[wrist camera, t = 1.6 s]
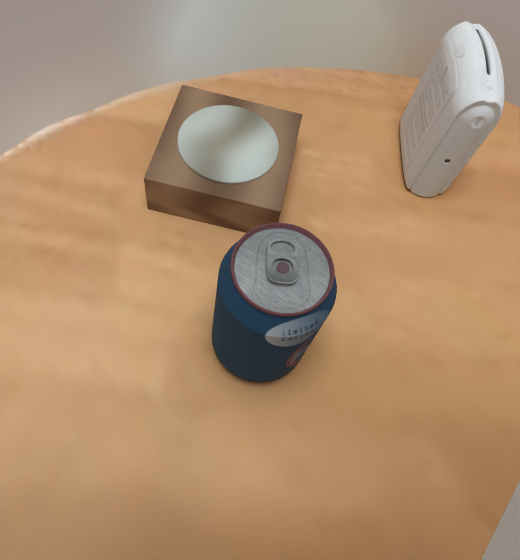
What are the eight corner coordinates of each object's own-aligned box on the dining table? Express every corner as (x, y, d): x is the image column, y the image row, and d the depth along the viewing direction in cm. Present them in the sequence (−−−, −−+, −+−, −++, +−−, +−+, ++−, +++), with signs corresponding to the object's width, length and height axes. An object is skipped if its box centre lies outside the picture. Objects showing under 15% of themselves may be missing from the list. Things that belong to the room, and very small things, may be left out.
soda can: (302, 389, 35) (349, 329, 25) (208, 384, 34) (215, 320, 24) (300, 304, 38) (341, 219, 28) (214, 297, 38) (223, 208, 27)
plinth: (293, 146, 46) (303, 111, 42) (273, 238, 41) (281, 209, 37) (183, 118, 46) (182, 82, 42) (147, 208, 41) (143, 175, 37)
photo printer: (446, 202, 45) (526, 99, 35) (402, 196, 45) (469, 90, 34) (434, 123, 50) (501, 11, 39) (395, 117, 50) (452, 3, 39)
